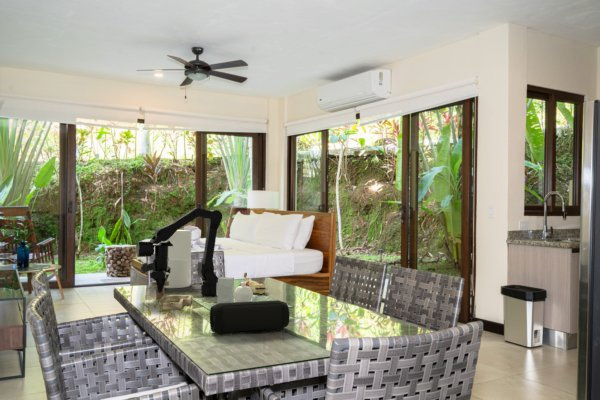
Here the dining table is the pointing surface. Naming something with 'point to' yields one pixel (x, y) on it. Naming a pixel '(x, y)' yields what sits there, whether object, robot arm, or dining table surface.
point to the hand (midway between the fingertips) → (160, 291)
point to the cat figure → (255, 285)
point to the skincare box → (225, 290)
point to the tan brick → (160, 294)
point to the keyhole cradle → (181, 298)
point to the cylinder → (179, 259)
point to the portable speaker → (249, 316)
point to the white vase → (243, 293)
